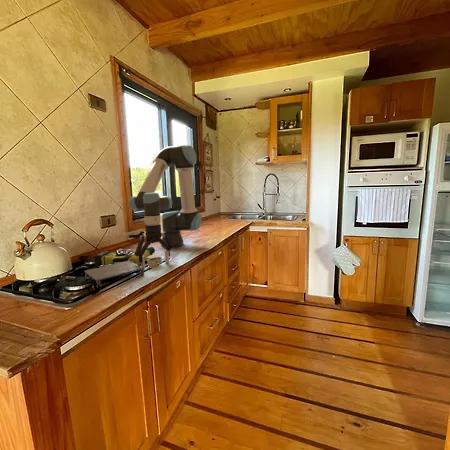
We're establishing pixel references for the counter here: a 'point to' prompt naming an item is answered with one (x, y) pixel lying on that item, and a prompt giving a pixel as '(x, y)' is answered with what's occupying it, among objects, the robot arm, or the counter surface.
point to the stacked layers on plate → (154, 260)
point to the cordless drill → (120, 257)
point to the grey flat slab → (113, 271)
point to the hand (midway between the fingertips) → (155, 265)
